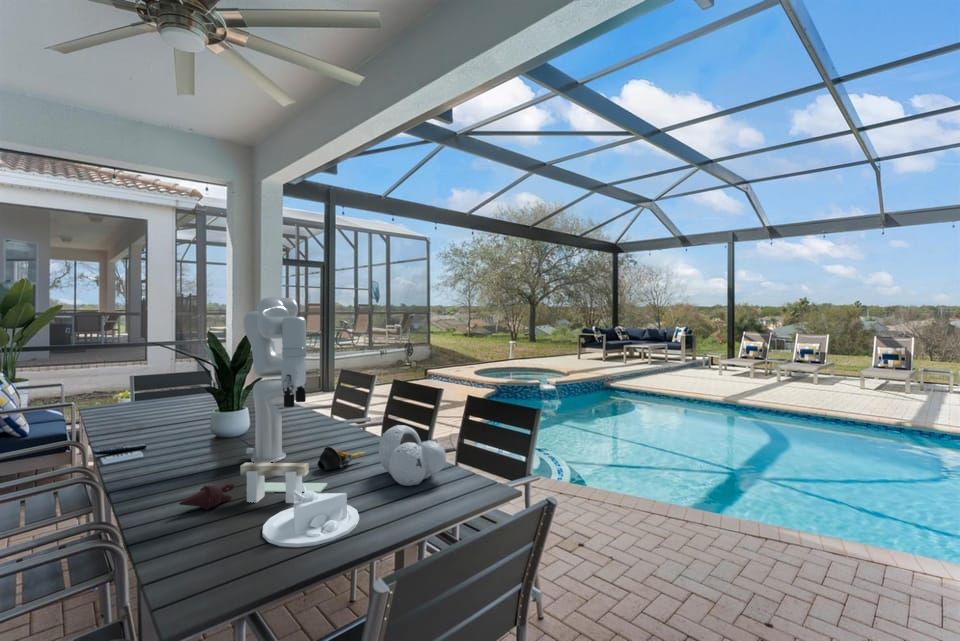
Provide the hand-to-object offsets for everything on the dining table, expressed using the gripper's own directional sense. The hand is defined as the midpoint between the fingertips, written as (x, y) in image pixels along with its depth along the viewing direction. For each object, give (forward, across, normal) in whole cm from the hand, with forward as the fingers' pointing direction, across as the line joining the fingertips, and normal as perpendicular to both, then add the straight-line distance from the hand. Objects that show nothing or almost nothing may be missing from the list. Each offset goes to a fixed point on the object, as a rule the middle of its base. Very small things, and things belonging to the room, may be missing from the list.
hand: (295, 404), depth 153 cm
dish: (+29, +27, +15) cm, 43 cm away
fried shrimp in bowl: (+27, -20, +10) cm, 35 cm away
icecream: (+28, +17, -20) cm, 38 cm away
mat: (+28, +2, -2) cm, 28 cm away
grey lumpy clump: (+28, -8, +36) cm, 47 cm away
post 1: (+28, +10, -8) cm, 31 cm away
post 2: (+28, +11, +4) cm, 30 cm away
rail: (+20, +11, -2) cm, 23 cm away
